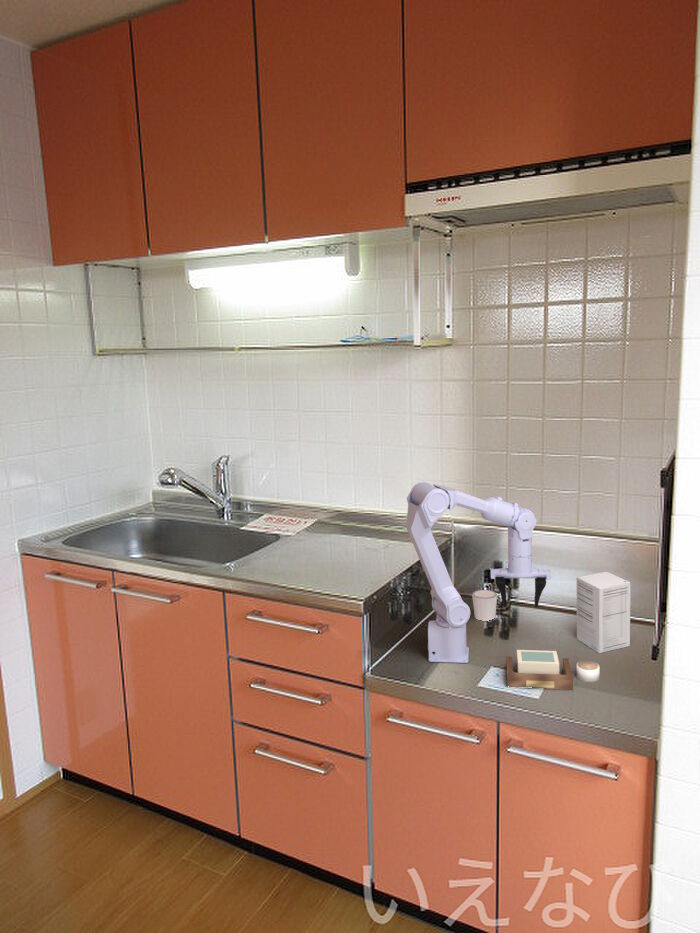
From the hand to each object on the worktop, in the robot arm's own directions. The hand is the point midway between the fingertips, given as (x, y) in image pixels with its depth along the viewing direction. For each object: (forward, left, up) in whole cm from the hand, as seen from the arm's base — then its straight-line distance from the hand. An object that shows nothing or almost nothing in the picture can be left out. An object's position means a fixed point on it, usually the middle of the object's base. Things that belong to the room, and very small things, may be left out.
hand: (520, 605), depth 175 cm
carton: (+3, -17, -10) cm, 20 cm away
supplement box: (+20, +1, -10) cm, 22 cm away
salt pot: (+14, -17, -10) cm, 24 cm away
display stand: (+3, -19, -10) cm, 22 cm away
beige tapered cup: (-9, +15, -10) cm, 20 cm away
